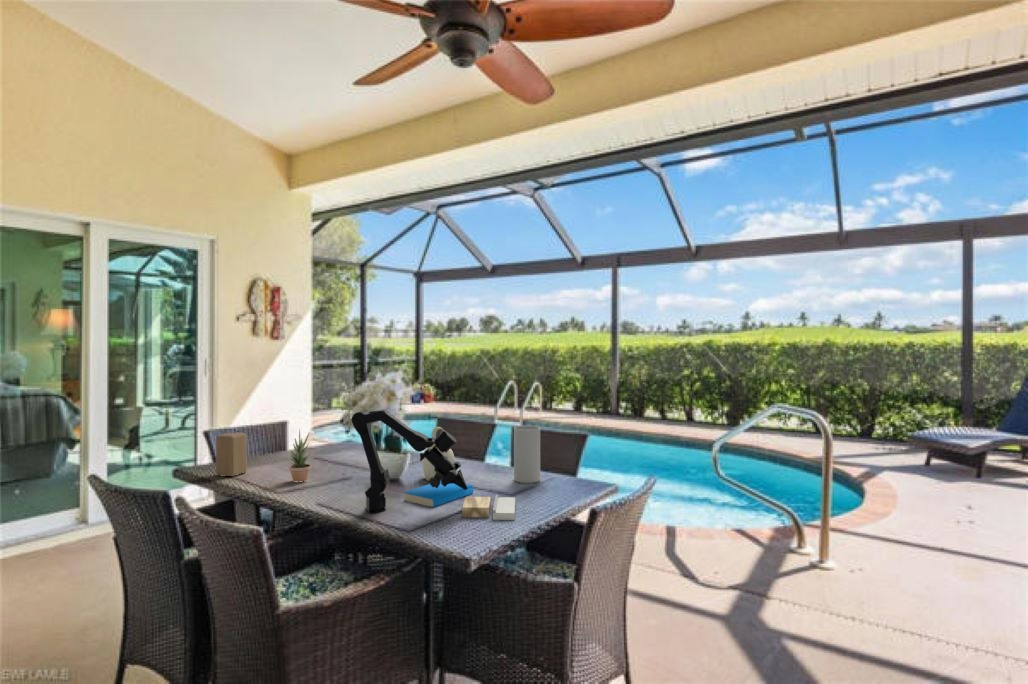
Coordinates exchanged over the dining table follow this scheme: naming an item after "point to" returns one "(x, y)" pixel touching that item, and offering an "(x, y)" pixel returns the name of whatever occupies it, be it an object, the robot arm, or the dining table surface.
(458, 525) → the dining table surface
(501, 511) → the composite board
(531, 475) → the cylinder vase
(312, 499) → the dining table surface
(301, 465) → the potted plant
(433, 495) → the book
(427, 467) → the jug
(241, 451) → the wooden block
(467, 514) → the oak plank
